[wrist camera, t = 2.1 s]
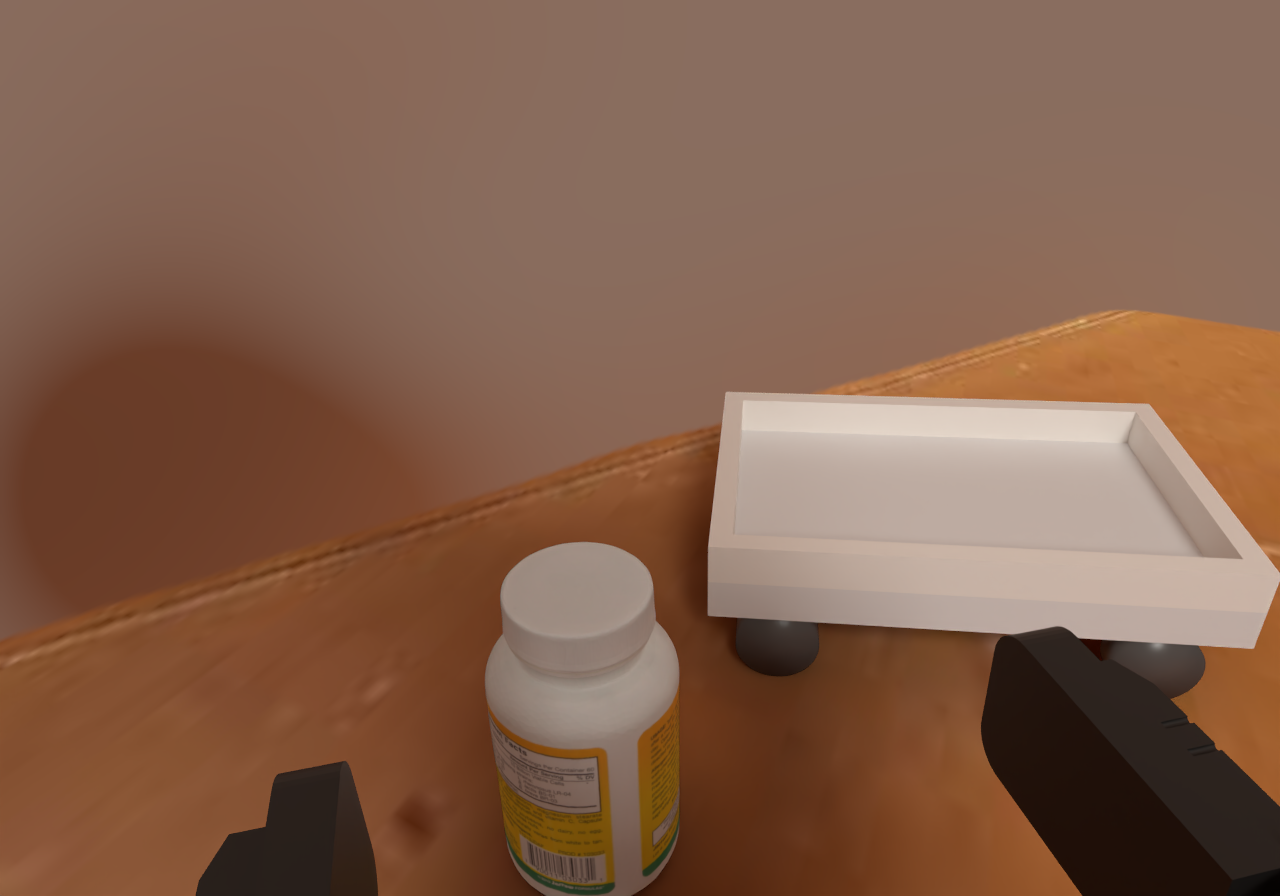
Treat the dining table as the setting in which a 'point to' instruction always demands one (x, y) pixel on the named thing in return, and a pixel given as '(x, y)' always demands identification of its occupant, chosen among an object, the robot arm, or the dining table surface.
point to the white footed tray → (976, 529)
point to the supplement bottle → (585, 722)
